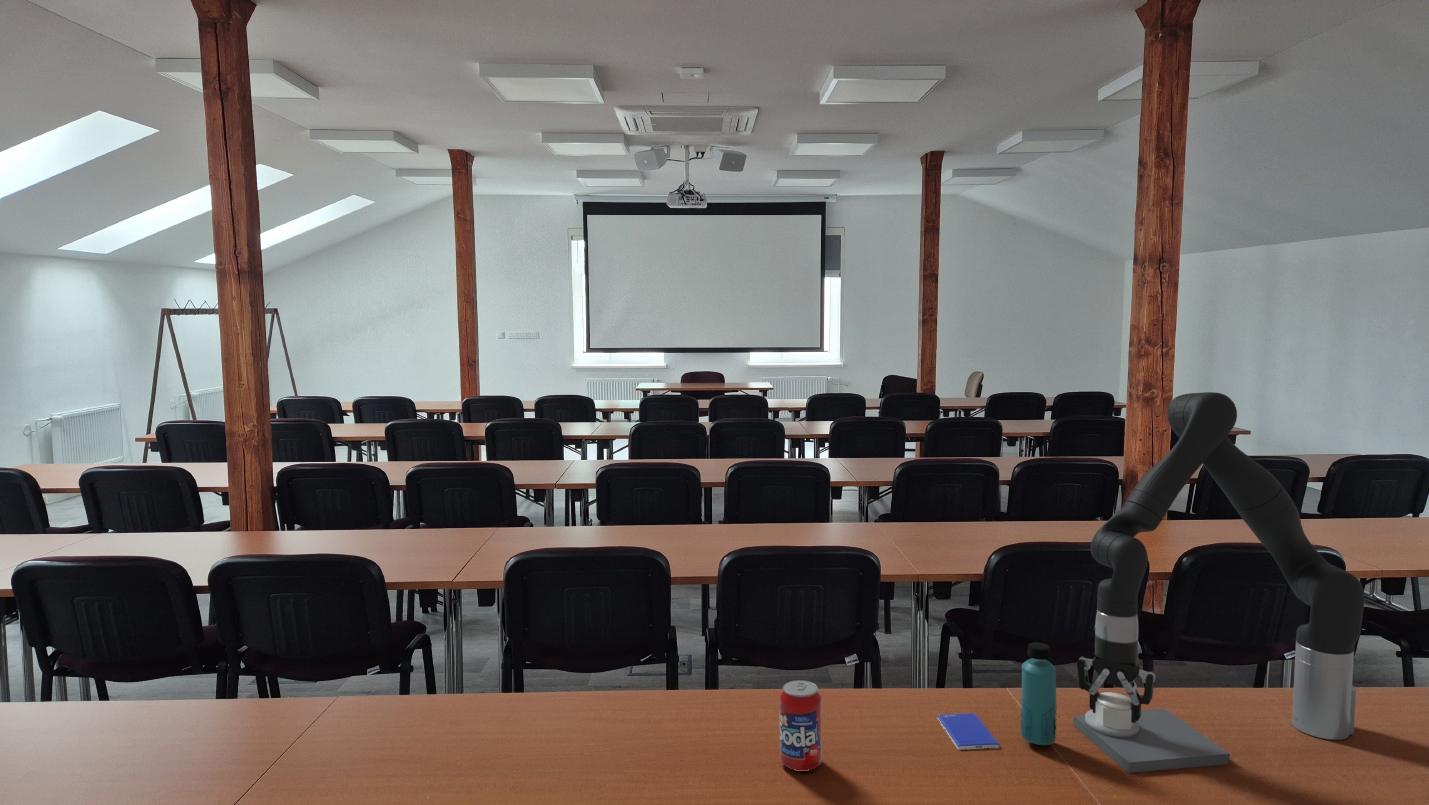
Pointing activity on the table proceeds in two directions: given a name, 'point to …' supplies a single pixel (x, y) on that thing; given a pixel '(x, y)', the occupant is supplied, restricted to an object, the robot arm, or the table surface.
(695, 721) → the table surface
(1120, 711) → the cap
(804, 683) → the soda can
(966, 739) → the hard drive
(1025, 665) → the beverage bottle
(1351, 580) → the robot arm
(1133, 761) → the threaded post stand
